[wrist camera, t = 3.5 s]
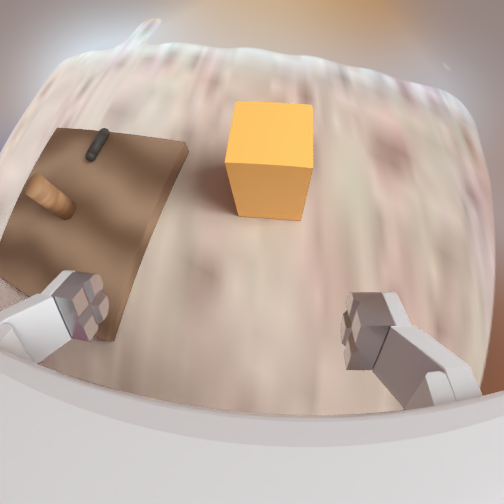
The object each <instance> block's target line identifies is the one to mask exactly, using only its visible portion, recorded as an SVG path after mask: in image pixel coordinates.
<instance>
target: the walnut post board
mask: <svg viewBox="0 0 504 504" xmlns="http://www.w3.org/2000/svg"><path fill="white" fill-rule="evenodd" d="M188 153H189V150H188V148H187V145H186V143H185V142H180V141H173V140H167V139H161V138H154V137H147V136H139V135H131V134H123V133H114V132H109V130H108V129H106V128H103V129H101V130H100V131H94V130H83V129H69V128H57V129H56V130H55V132H54V133H53V135H52V137H51V138H50V140H49V142H48V143H47V145H46V147H45V148H44V150H43V152H42V153H41V155H40V157H39V159H38V161H37V162H36V164H35V166H34V168H33V170H32V172H31V174H30V175H29V177H28V179H27V181H26V183H25V185H24V187H23V189H22V192H21V194H20V196H19V198H18V200H17V202H16V205H15V207H14V209H13V211H12V214H11V216H10V218H9V221H8V223H7V226H6V228H5V231H4V233H3V236H2V239H1V241H0V276H1V277H2V278H3V279H5V280H6V281H7V282H9V283H10V284H12V285H13V286H14V287H16V288H17V289H19V290H20V291H22V292H23V293H25V294H26V295H28V296H29V297H31V296H33V295H35V294H41V293H42V292H43V291H44V289H45V288H46V287H47V286H48V285H49V284H50V283H51V282H52V281H53V280H54V279H55V278H56V277H57V276H58V275H59V274H60V273H61V272H62V271H64V270H71V271H79V272H86V273H94V274H98V275H99V276H101V278H102V281H103V284H104V285H103V287H102V290H103V291H104V293H105V294H106V295H107V298H108V301H109V310H108V314H107V316H106V318H105V319H104V321H102V322H101V323H99V324H97V325H98V330H97V332H96V333H95V336H97V337H99V338H100V339H102V340H104V341H114V340H115V336H116V333H117V330H118V327H119V324H120V321H121V317H122V314H123V311H124V308H125V305H126V302H127V300H128V297H129V294H130V291H131V288H132V285H133V282H134V280H135V277H136V274H137V272H138V269H139V266H140V264H141V261H142V258H143V256H144V253H145V251H146V248H147V246H148V243H149V240H150V238H151V236H152V233H153V231H154V228H155V226H156V223H157V221H158V219H159V216H160V214H161V212H162V209H163V207H164V205H165V202H166V200H167V198H168V196H169V193H170V191H171V189H172V187H173V185H174V182H175V180H176V178H177V176H178V174H179V172H180V170H181V168H182V165H183V163H184V161H185V159H186V157H187V155H188Z"/></svg>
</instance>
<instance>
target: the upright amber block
mask: <svg viewBox="0 0 504 504" xmlns="http://www.w3.org/2000/svg"><path fill="white" fill-rule="evenodd" d="M225 166H226V170H227V174H228V177H229V181H230V185H231V189H232V193H233V196H234V200H235V204H236V208H237V212H238V215H239V216H242V217H257V218H271V219H284V220H296V221H301V218H302V214H303V210H304V205H305V201H306V197H307V192H308V188H309V184H310V179H311V175H312V170H313V108H312V105H303V104H291V103H275V102H249V101H236V103H235V108H234V113H233V119H232V124H231V129H230V135H229V140H228V146H227V152H226V157H225Z"/></svg>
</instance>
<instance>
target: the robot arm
mask: <svg viewBox="0 0 504 504" xmlns="http://www.w3.org/2000/svg"><path fill="white" fill-rule="evenodd" d="M103 285H104V284H103V281H102V278H101V276H99V275H98V274H94V273H86V272H79V271H71V270H64V271H62V272H61V273H60V274H59V275H58V276H57V277H56V278H55V279H54V280H53V281H52V282H51V283H50V284H49V285H48V286H47V287H46V288H45V289H44V291H43V292H42V293H41V294H35V295H33V296H31V297H29V298H27V299H25V300H23V301H21V302H18V303H16V304H14V305H12V306H10V307H8V308H6V309H4V310H2V311H0V504H504V390H503V391H500V392H496V393H492V394H489V395H485V396H482V393H481V391H480V388H479V386H478V384H477V381H476V379H475V377H474V375H473V372H472V370H471V368H470V366H469V365H468V364H466V363H465V362H464V361H462V360H461V359H460V358H458V357H457V356H456V355H454V354H453V353H452V352H450V351H449V350H448V349H446V348H445V347H444V346H442V345H441V344H440V343H438V342H437V341H436V340H434V339H433V338H432V337H430V336H429V335H428V334H426V333H425V332H424V331H422V330H421V329H420V328H418V327H417V326H411V323H410V321H409V319H408V317H407V314H406V312H405V310H404V308H403V306H402V304H401V301H400V299H399V297H398V295H397V293H395V292H349V294H348V296H347V300H346V306H347V311H346V312H345V313H344V314H343V317H342V321H341V341H342V344H343V345H344V346H346V347H345V350H344V359H345V365H346V370H373V373H374V374H375V375H376V376H377V377H378V378H379V380H380V381H381V382H382V383H383V384H384V385H385V387H386V388H387V389H388V390H389V391H390V392H391V394H392V395H393V396H394V397H395V398H396V399H397V401H398V402H399V403H400V404H401V405H402V406H403V408H404V409H403V410H400V411H390V412H379V413H366V414H346V415H286V414H266V413H252V412H241V411H231V410H222V409H214V408H206V407H199V406H193V405H186V404H180V403H175V402H169V401H164V400H159V399H154V398H149V397H145V396H140V395H136V394H132V393H128V392H124V391H120V390H116V389H112V388H108V387H105V386H101V385H98V384H94V383H91V382H88V381H84V380H81V379H78V378H75V377H72V376H69V375H66V374H63V373H60V372H57V371H54V370H52V369H49V368H46V367H44V366H41V365H38V363H39V362H41V361H42V360H43V359H45V358H46V357H48V356H49V355H50V354H52V353H53V352H54V351H56V350H57V349H58V348H60V347H61V346H63V345H64V344H65V343H67V342H68V341H70V340H71V338H74V339H78V340H83V341H88V342H90V341H91V339H92V338H93V336H94V335H95V333H96V332H97V330H98V325H97V324H99V323H101V322H102V321H104V319H105V318H106V316H107V314H108V310H109V301H108V298H107V295H106V294H105V293H104V291H103V290H102V287H103Z"/></svg>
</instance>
